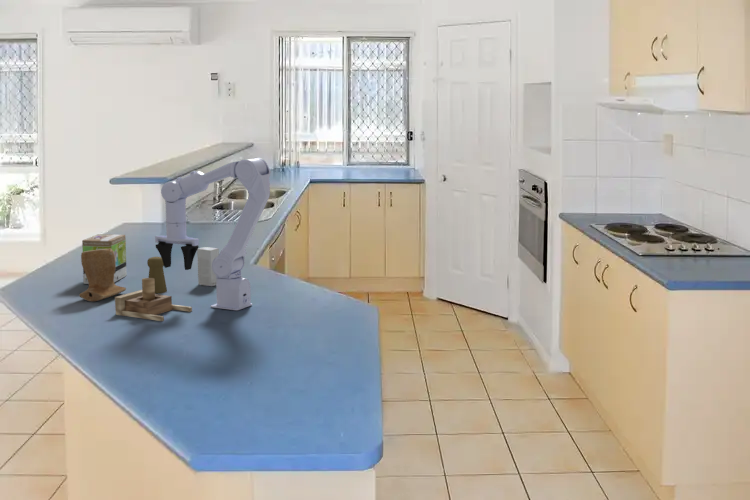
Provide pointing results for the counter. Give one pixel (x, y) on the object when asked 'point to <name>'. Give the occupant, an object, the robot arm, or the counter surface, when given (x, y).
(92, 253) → the brown wooden stand
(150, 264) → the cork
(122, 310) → the birch rail and backstop
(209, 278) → the skincare box
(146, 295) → the oak dowel
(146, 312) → the walnut block
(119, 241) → the tea box
